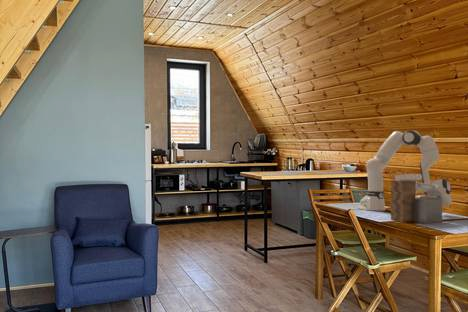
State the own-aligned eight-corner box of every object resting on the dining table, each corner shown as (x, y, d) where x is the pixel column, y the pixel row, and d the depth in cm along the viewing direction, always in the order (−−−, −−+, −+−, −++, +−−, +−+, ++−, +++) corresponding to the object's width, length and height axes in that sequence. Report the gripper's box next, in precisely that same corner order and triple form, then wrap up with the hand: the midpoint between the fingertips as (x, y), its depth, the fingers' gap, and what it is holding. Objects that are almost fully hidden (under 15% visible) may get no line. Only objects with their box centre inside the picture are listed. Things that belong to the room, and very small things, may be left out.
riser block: (413, 221, 281) (413, 198, 281) (428, 219, 287) (429, 196, 287) (426, 224, 272) (426, 199, 271) (441, 222, 278) (442, 198, 277)
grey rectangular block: (395, 180, 285) (395, 174, 284) (417, 179, 293) (417, 174, 293) (399, 180, 281) (399, 175, 281) (421, 179, 290) (422, 174, 290)
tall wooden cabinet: (389, 219, 288) (390, 180, 288) (403, 218, 293) (403, 179, 293) (402, 222, 278) (403, 181, 278) (416, 220, 284) (416, 180, 283)
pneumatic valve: (421, 211, 321) (421, 195, 321) (412, 209, 333) (412, 193, 332) (428, 211, 322) (428, 195, 322) (419, 209, 334) (419, 193, 333)
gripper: (423, 186, 308) (410, 177, 302) (448, 189, 289) (435, 179, 284) (419, 194, 307) (407, 185, 301) (445, 197, 288) (432, 188, 283)
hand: (421, 182), depth 292 cm, fingers open, 8 cm apart
